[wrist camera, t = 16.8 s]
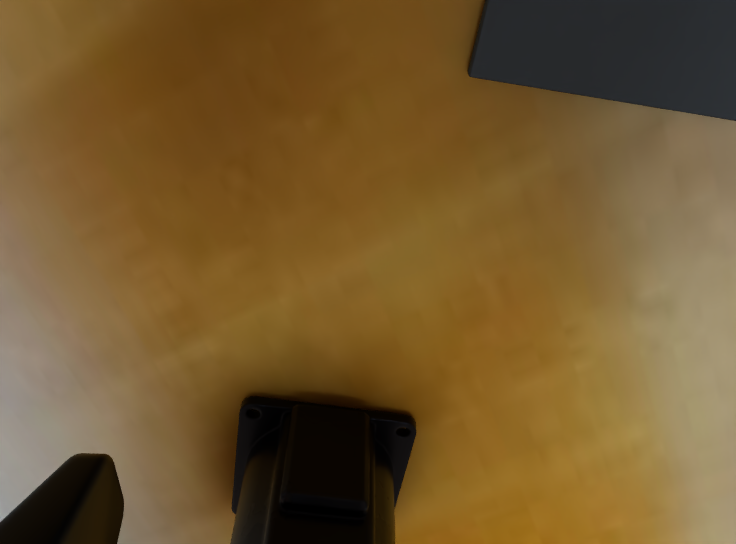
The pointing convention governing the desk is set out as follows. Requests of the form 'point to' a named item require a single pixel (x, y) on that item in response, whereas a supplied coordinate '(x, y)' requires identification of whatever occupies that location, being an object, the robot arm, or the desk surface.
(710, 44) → the dark grey flat plate
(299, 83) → the desk surface
